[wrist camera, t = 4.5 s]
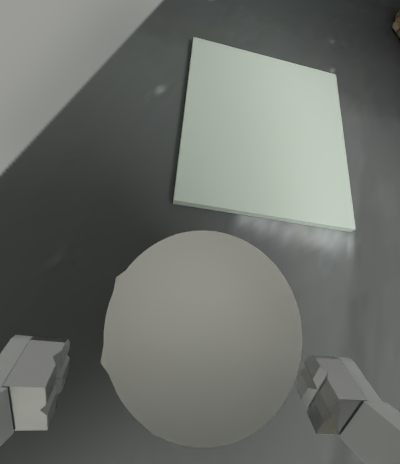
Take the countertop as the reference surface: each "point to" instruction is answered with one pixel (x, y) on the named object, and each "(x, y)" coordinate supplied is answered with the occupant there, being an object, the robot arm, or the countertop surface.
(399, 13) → the bread roll
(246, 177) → the mat
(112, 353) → the domed hexagonal post
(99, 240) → the countertop surface
